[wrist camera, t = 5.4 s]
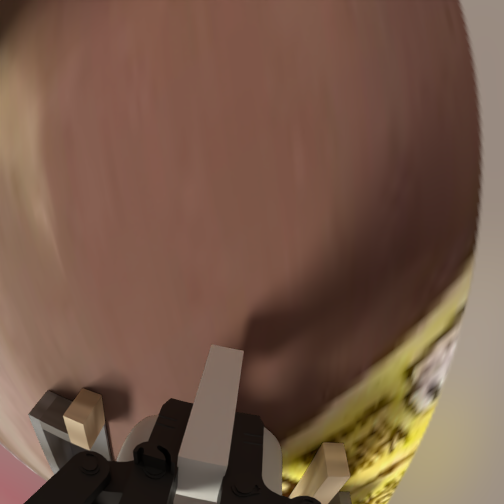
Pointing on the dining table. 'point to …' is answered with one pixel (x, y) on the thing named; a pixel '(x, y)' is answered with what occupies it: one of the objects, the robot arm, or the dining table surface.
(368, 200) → the dining table surface
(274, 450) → the mug
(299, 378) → the dining table surface
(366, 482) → the dining table surface
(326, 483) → the grey-green u-shaped bracket
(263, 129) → the dining table surface
